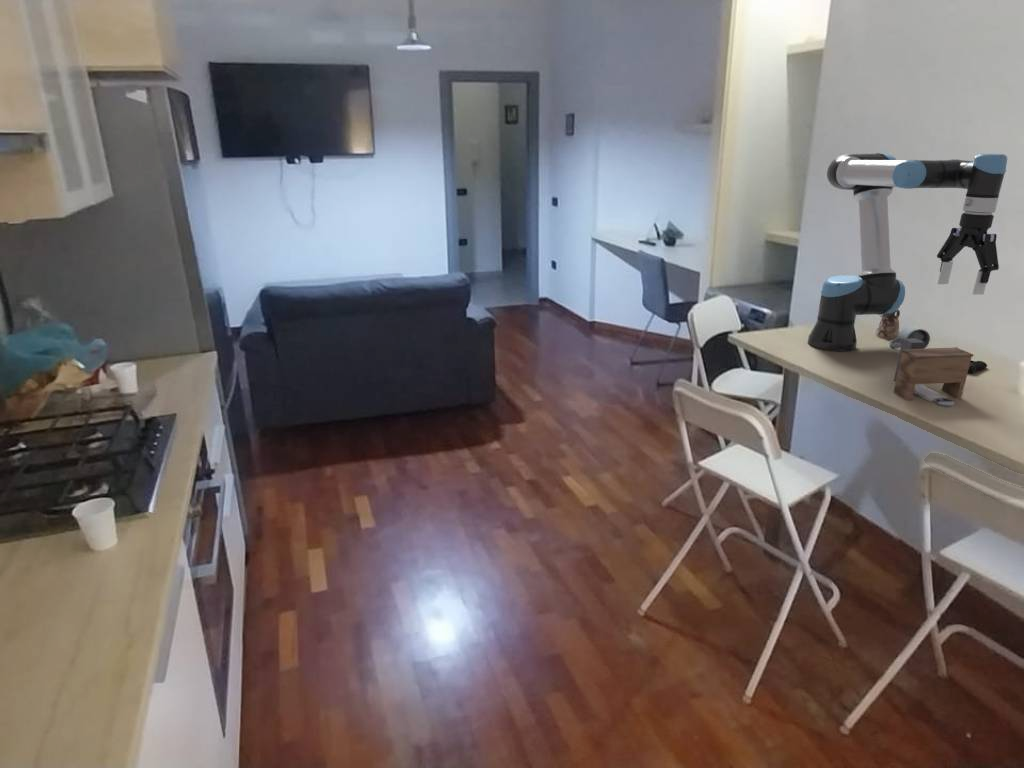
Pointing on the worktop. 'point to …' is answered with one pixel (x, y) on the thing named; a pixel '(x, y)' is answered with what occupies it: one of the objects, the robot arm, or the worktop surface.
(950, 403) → the dark grey round piece
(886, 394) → the worktop surface
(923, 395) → the grey block with plate
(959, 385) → the walnut stool
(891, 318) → the figurine
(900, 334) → the ceramic mug
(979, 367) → the door handle
